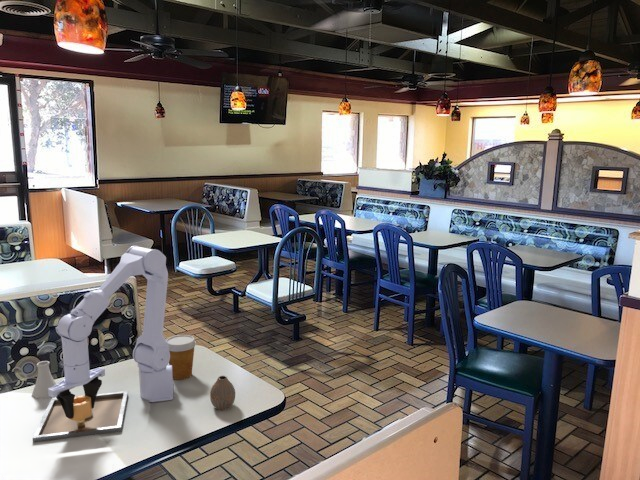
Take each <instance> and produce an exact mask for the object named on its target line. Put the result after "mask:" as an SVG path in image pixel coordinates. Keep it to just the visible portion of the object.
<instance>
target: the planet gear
mask: <svg viewBox="0 0 640 480" xmlns="http://www.w3.org/2000/svg"><path fill="white" fill-rule="evenodd" d="M75 396H76V397H75V398H74V404H73V409H74V417H73V418H72V419H71V420H73V421H76V420H83V419H85V418H87V417H89V416H91V413H92V405H91V397H89V396H86V395H85V394H84V395H75ZM68 419H70V418H68Z"/></svg>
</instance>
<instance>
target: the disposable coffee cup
mask: <svg viewBox="0 0 640 480" xmlns="http://www.w3.org/2000/svg"><path fill="white" fill-rule="evenodd" d="M166 340H167V342H168V343H169V346H168V349H169V352H170V361H169V363H168V365H172V373H173V380H175V381H176V380H177V381H183V380H186V379H189V378H191V377H192V375H193V366H194V355H195V346H196V344H197V341H196V340H195V337H194V336H193V335H188V334H178V335H177V334H176V335H173V336H170V337H167V338H166Z"/></svg>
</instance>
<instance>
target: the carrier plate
mask: <svg viewBox="0 0 640 480" xmlns="http://www.w3.org/2000/svg"><path fill="white" fill-rule="evenodd" d="M122 399H123V397H118V398H108V399H99V400H95V404H94V408H92V411H93V416H92V417H91V418H90V419H88V420H85V427H84V428H78V427H77V420H76V421H73V420H71V419H68V418H67V417H66V415H65V412H64V410H63V408H62V406H61V404H55V405H54V407H53V410H52V412H51V414H50V416H49V418H48V420H47V423H46V425H45V427H44V429H43V431H42V433H41V435H45V434H53V433H61V432H70V431H78V430H86V429H94V428H102V427H110V426H117V423H118V419H119V414H120V409H121V404H122ZM125 410H126V408H125ZM122 426H123V424H122ZM115 433H116V432H114V434H115ZM106 434H108V433H106ZM106 434H105V435H106ZM98 435H100V434H98ZM98 435H97V436H98ZM92 436H93V435H90V436H89V437H92ZM83 437H85V436H82V437H81V438H83ZM75 438H76V439H77V437H74V438H73V439H75ZM67 439H69V438H66V439H65V440H67ZM58 440H61V439H58ZM58 440H57V441H58ZM51 441H53V440H50V441H49V442H51ZM43 442H45V441H42V442H41V443H43ZM34 443H37V442H34ZM34 443H33V444H34Z"/></svg>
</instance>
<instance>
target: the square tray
mask: <svg viewBox="0 0 640 480" xmlns="http://www.w3.org/2000/svg"><path fill="white" fill-rule="evenodd" d="M76 396H77V395H75V397H76ZM118 397H123V399H122V404H121V409H120V414H119V419H118V423H117V426H110V427H102V428H94V429H86V430H78V431H70V432H61V433H53V434H45V435H41V433H42V431H43V429H44V427H45V425H46V423H47V420H48V418H49V416H50V414H51V412H52V410H53V407H54V405H55V404H60V402H59V401H58V399H57V398H51V399H50V401H49V403H48V405H47V407H46V409H45V411H44V413H43V416H42V418H41V419H40V422H39V424H38V426H37V428H36V430H35V432H34V434H33V436H32V443H33V444H34V442H36V443H43V442H42V441H44V442H51V441H50V440H52V441H58V439H60V440H67V439H66V438H68V439H75V438H74V437H76V438H83V437H82V436H84V437H91V436H90V435H92V436H98V434H99V435H106V433H107V434H113V433H114V432H115V433H121V432H122V430H123V425H122V424H123V423H124V418H125V412H126V409H125V408H126V407H127V402H128V397H129V391H128V390H123V391H115V392H105V393H97V395H96V399H95V400H99V399H108V398H118ZM92 416H93V411H92V413H91V416H89V417H87V418H85V420H88V419H90V418H91V417H92ZM115 433H114V434H115Z"/></svg>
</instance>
